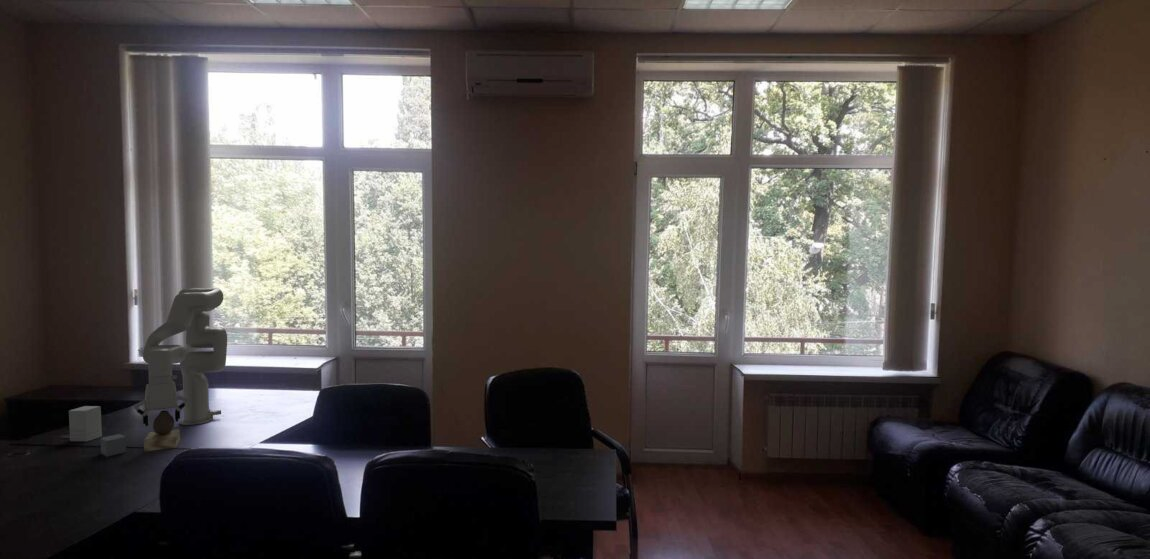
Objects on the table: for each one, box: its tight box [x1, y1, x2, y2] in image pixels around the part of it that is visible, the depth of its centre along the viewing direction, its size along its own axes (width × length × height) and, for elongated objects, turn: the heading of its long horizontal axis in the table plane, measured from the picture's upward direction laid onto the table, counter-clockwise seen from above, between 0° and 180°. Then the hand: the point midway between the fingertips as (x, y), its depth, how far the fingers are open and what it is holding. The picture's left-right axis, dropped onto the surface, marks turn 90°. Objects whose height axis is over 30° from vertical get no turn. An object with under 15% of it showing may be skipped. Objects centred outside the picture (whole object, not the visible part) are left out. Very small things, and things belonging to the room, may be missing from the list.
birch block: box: [143, 428, 181, 453], centre depth 227 cm, size 10×10×5 cm
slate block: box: [100, 433, 127, 457], centre depth 219 cm, size 6×6×6 cm
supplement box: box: [68, 405, 103, 442], centre depth 235 cm, size 7×7×13 cm
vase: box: [152, 409, 175, 434], centre depth 227 cm, size 7×7×9 cm
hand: (161, 423), depth 227 cm, fingers open, 9 cm apart
